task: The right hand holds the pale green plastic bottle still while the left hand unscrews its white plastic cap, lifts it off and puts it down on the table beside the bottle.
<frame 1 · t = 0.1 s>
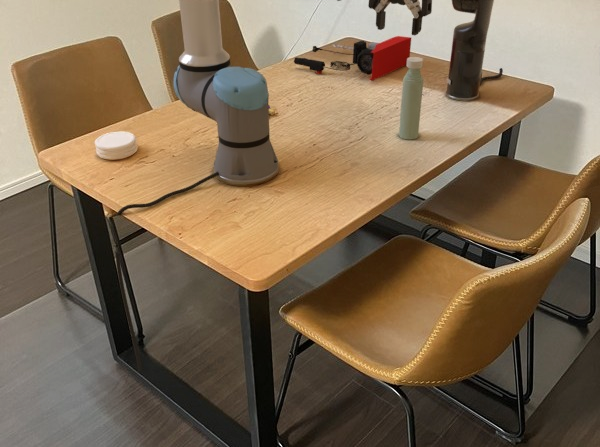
left hand: (358, 4, 166), 28 cm above the table, tool pointing down, fingers open, 13 cm apart
right hand: (397, 31, 139), 29 cm above the table, tool pointing down, fingers open, 8 cm apart
electric hoist: (351, 66, 209), on the table
cap: (414, 60, 151), point 20 cm above the table, screwed on, not yet turned
white thick disc: (117, 152, 155), on the table
toy figure: (256, 111, 177), on the table
bottle: (408, 135, 162), on the table
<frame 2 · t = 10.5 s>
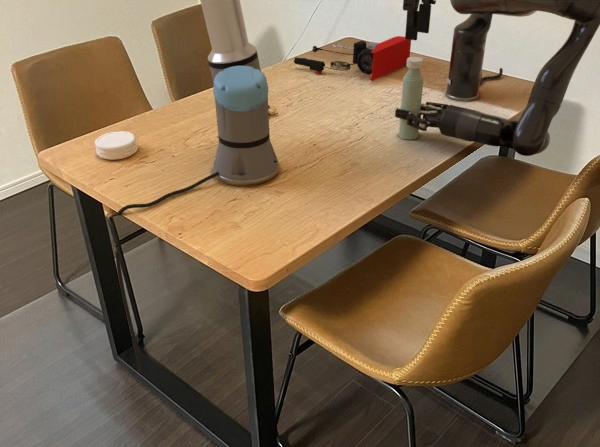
left hand: (417, 35, 148), 26 cm above the table, tool pointing down, fingers open, 6 cm apart
right hand: (401, 109, 159), 7 cm above the table, tool horizontal, fingers closed on bottle, 5 cm apart
bottle: (408, 135, 162), on the table, touching right hand
everything else where it was.
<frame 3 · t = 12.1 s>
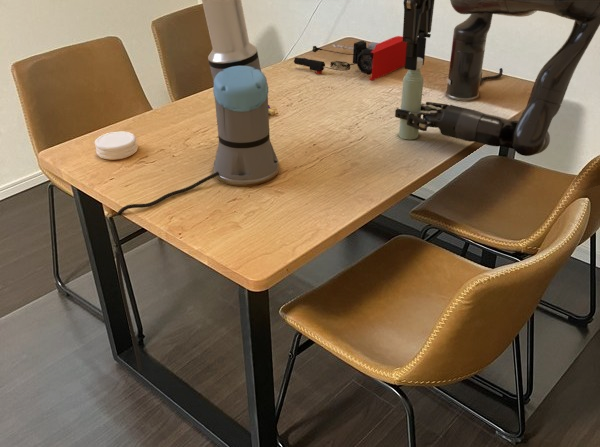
left hand: (414, 66, 152), 18 cm above the table, tool pointing down, fingers closed on cap, 4 cm apart
right hand: (401, 109, 159), 7 cm above the table, tool horizontal, fingers closed on bottle, 5 cm apart
cap: (414, 60, 151), point 20 cm above the table, screwed on, not yet turned, touching left hand
bottle: (408, 135, 162), on the table, touching right hand
everything else where it was.
when the left hand's fingers open (1 cm above the table, at t = 32.1 s): cap drops 1 cm, point 1 cm above the table.
when the right hand's fingers open (7 cm above the table, at t = 33.4 s): bottle stays where it is, on the table.
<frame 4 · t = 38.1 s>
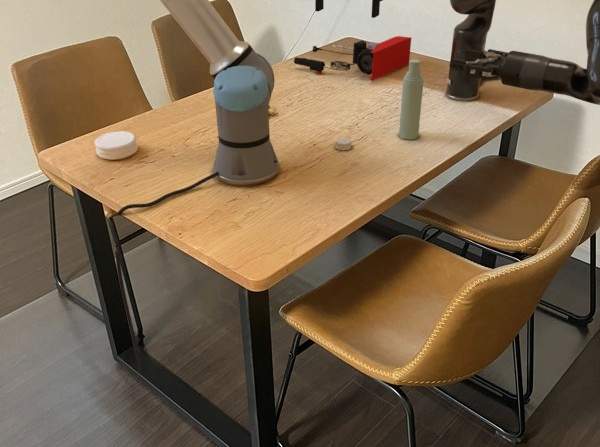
left hand: (346, 13, 139), 33 cm above the table, tool pointing down, fingers open, 13 cm apart
right hand: (458, 58, 144), 22 cm above the table, tool horizontal, fingers open, 8 cm apart
cap: (343, 141, 155), point 1 cm above the table, off its thread
bottle: (408, 135, 161), on the table
everything else where it was.
at the end: cap came off its thread; cap point 1.5 cm above the table; the left hand is holding nothing; the right hand is holding nothing; bottle tilted 0°; bottle moved 0.0 cm from its start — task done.
